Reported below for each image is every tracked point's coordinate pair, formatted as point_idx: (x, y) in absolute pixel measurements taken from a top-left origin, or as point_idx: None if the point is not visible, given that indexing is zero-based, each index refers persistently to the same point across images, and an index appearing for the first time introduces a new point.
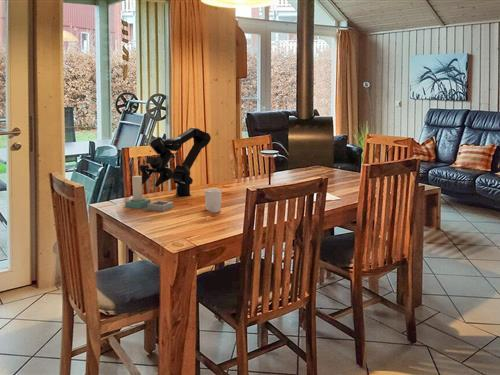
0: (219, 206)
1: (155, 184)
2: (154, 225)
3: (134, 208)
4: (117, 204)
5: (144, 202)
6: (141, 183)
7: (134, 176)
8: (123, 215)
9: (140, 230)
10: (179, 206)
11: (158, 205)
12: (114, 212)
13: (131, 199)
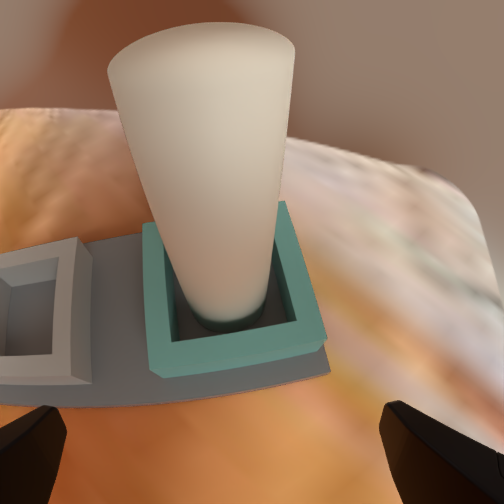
0: None
1: (40, 415)
2: (2, 153)
3: None
4: (417, 276)
5: (144, 281)
6: (136, 169)
7: (247, 40)
8: None
9: (28, 112)
10: None
11: (8, 253)
12: None
13: (300, 267)
